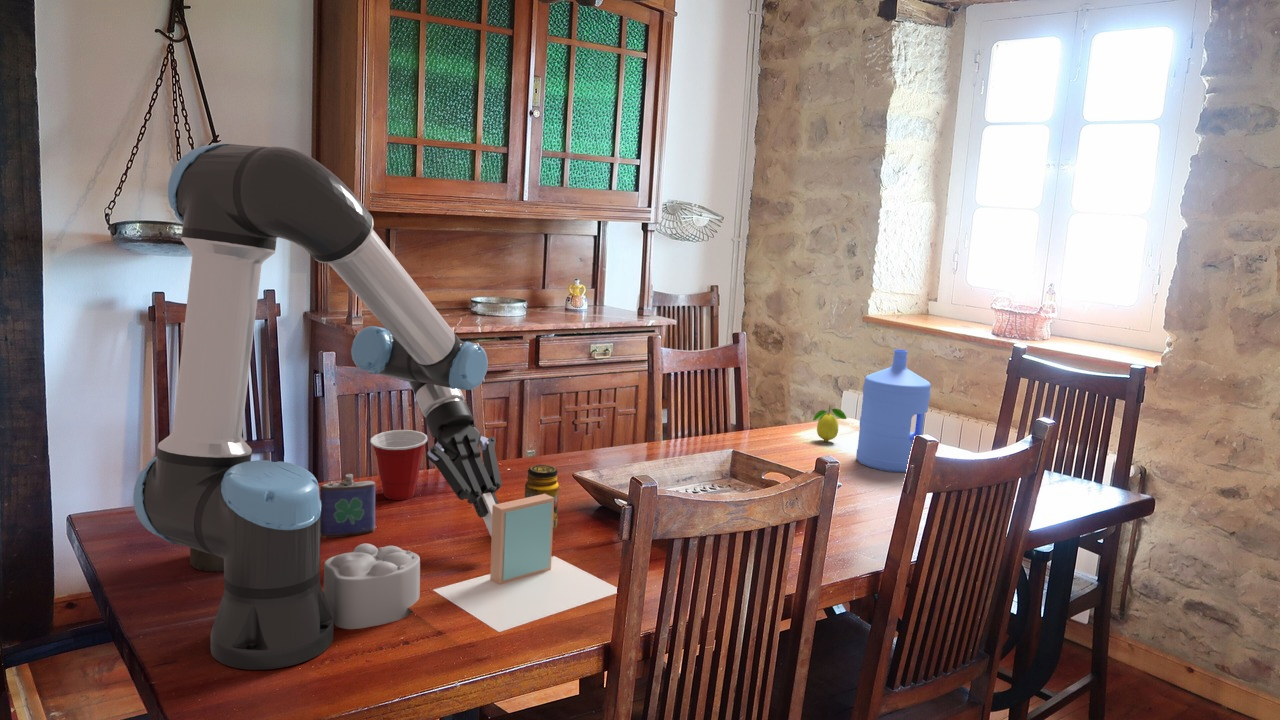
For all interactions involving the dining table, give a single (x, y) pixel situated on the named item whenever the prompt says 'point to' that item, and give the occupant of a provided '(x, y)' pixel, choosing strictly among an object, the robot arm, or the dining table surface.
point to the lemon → (828, 423)
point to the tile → (521, 538)
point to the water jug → (891, 415)
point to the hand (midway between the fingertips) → (498, 531)
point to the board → (527, 595)
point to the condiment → (543, 485)
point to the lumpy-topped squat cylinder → (371, 585)
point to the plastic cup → (399, 461)
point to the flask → (347, 508)
